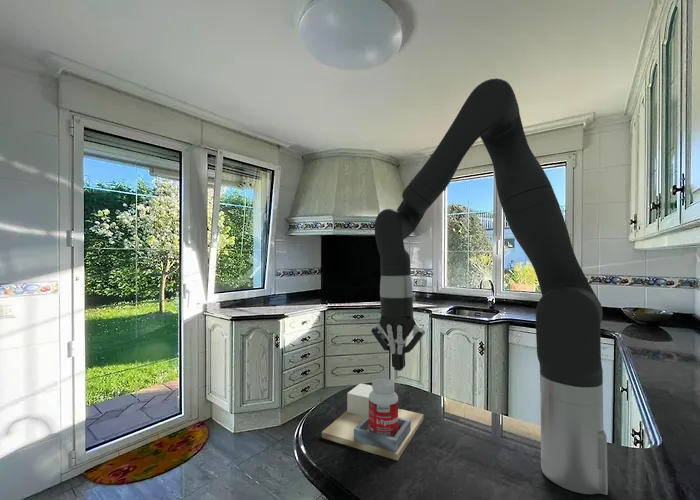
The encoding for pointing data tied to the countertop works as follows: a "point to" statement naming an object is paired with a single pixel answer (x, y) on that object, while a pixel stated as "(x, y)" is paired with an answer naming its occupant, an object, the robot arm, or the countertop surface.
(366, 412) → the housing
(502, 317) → the countertop surface
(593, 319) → the robot arm
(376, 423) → the pill bottle
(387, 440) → the base board
